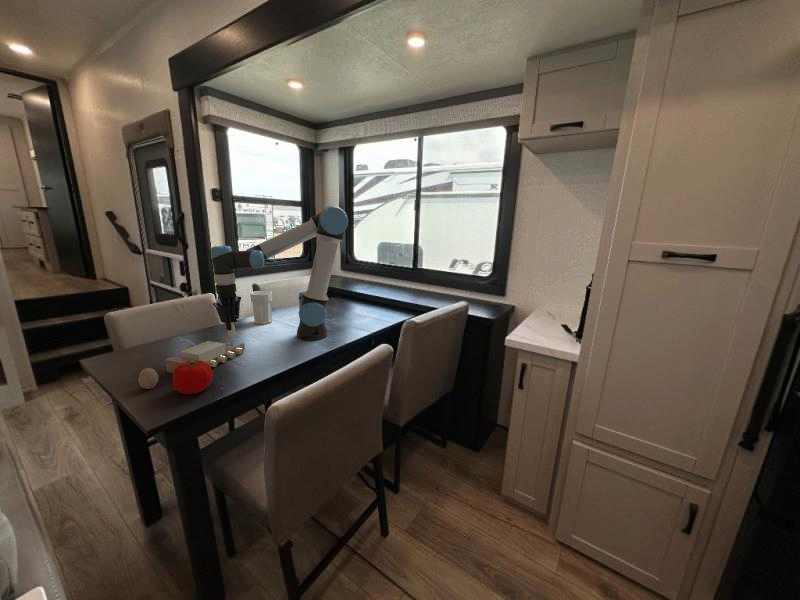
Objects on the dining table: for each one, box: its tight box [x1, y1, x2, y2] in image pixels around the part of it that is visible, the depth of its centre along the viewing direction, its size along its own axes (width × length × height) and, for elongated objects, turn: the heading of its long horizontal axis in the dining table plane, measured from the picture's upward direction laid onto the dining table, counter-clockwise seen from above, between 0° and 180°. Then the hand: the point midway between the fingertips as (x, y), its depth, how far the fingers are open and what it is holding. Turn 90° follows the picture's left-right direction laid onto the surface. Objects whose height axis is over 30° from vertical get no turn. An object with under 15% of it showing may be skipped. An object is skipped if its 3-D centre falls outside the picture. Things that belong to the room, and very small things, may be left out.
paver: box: [180, 340, 226, 362], centre depth 125 cm, size 9×12×4 cm
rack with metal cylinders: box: [165, 341, 246, 374], centre depth 129 cm, size 14×27×5 cm, turn 163°
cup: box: [249, 290, 273, 326], centre depth 177 cm, size 11×11×17 cm
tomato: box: [172, 360, 214, 395], centre depth 105 cm, size 12×12×10 cm
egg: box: [137, 367, 160, 390], centre depth 106 cm, size 5×5×7 cm
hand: (232, 336), depth 137 cm, fingers closed
